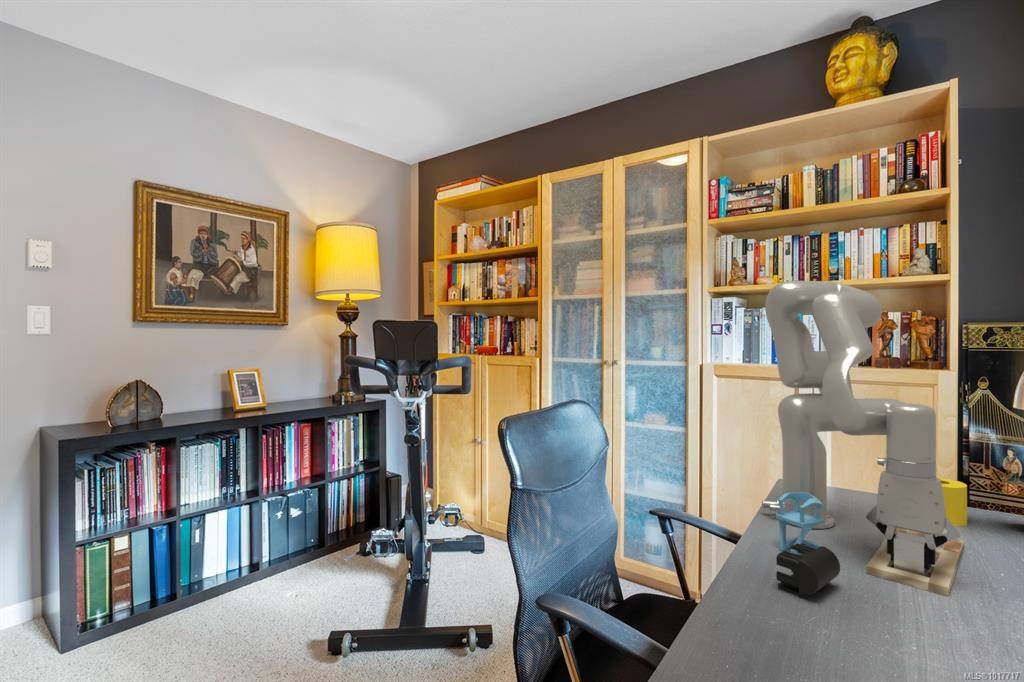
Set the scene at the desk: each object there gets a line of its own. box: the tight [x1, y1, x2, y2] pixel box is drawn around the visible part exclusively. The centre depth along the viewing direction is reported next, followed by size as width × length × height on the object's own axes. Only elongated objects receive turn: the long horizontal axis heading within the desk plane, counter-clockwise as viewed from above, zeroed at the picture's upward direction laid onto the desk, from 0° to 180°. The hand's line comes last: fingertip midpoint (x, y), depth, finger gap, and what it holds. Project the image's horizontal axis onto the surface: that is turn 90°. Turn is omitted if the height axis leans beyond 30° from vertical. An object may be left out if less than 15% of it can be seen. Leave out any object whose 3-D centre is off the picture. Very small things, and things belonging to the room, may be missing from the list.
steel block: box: [893, 532, 928, 577], centre depth 97 cm, size 4×4×7 cm
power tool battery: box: [775, 543, 841, 598], centre depth 92 cm, size 10×7×7 cm
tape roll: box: [936, 476, 968, 527], centre depth 126 cm, size 10×10×9 cm
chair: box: [775, 492, 824, 554], centre depth 108 cm, size 8×8×12 cm
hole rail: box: [865, 528, 965, 597], centre depth 103 cm, size 12×30×2 cm, turn 134°
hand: (910, 562), depth 97 cm, fingers closed on steel block, 4 cm apart
